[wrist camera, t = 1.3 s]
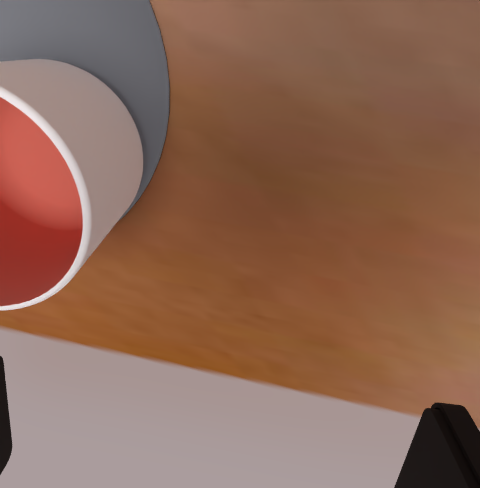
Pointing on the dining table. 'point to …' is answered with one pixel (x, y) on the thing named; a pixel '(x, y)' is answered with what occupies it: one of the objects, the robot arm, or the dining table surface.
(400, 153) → the dining table surface
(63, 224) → the cup
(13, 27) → the mat
